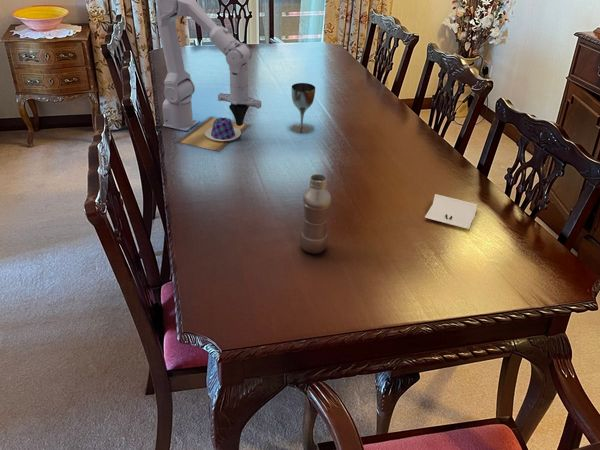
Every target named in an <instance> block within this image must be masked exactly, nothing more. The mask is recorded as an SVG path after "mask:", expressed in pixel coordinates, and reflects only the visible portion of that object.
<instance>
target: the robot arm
mask: <svg viewBox="0 0 600 450" xmlns="http://www.w3.org/2000/svg"><path fill="white" fill-rule="evenodd" d="M155 2H156V6H157V8H156V14H155V19H156V24H157V27H158V33H159V38H160V42H161V47H162V52H163V57H164V61H165V62H164V63H165V66H166V70H167V71H166V72H167V74H166V77H165V79H164V81H163V84H164V88H163V94H164V97H165V99H164V100H163V103H162V106H161V107H162V109H161V110H162V118H163V119H162V120H163V124H162V126H163V127H166V128H170V129H174V130H179V131H184V132H187V131H189V130H190V129H192V128H193V127H194V126H196V125H197V124H198V123H199V121H197V120H194V119H193V105H192V99H193V94H194V93H195V92H196V91H195V90H196V88H195V84H194V82H193V80H192V78H191V74H190V73H189V72H188V71H186V70H185V65H184V60H183V55H182V50H181V49H182V48H181V45H180V39H179V34H178V29H177V24H176V21H177V19H178V18H179V17H189V18H191V20H193V22H195V23H196V24H197V25H198V26H199V27H201V28H202V29H203V30H204V31H205V32H206V33H207V34H209V40H210V41H211V43H212V44H213V45H214V46H215V47H216V48H217V49H218V50H219V51H220V52H221V53H222V54H223V55H224V56H225V61H226V63H227V65H228V69H229V87H230V88H229V91H230V93H223V92H220V93H218V94H217V101H219V102H222V101H223V102H228V103H230V104H229V106H228V108H229V110H230V111H231V113H232V116H233V118H234V120H235V121H234V122H235V123H236V124H237V126H241V125H243V124H244V120H245V117H246V114H247V111H248V109H249V108H250V107H252V108H255V109H258V110H259V109H261V108H262V100H259V99H255V98H253V97H251V96H249V62H250V61H251V59H252V55H253V54H252V50H251V48H250V47H249V46H248V44H246V43H243V42H240V41H239V40H237V39H236V38H235V37H234V36H233V35H232V34H231V32H230V29H228V28H227V27H224V26H223V25H220V26H219V25H217V24H216V23H215V22H214V20H213V19H212V18H211V17H210V16H209V15H208V13H206V11H205V10H204V9H203V7H201V5H200V4H199V3H198V2H197V0H155Z"/></svg>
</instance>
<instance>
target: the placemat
mask: <svg viewBox="0 0 600 450" xmlns="http://www.w3.org/2000/svg"><path fill="white" fill-rule="evenodd" d="M215 119H217V117H209V118H208V119H206V120H205V121H204V122H201V124H199V125H198V126H197V127H195V128H194V129H193V130H191V131H190V132H189V133H187V134H186V135H185V136H183V137H182V138H180V139H179V140H178V141H177V143H180V144H185V145H189V146H193V147H197V148H202V149H207V150H211V151H215V152H220V151H221V150H222V149H223V148H225V146H227V145H228V144H229V143H230V142H232V140H229V141H216V140H212V139H210V138H208V137H207V136H206V135H205V132H206V130H208V129H209V128H212V127H213V123H214V121H215ZM231 122H232V125H233V127H235V128H237V129H239V130H240V131H241V133H242V132H243V131H244V130H245V129H246V128H248V127H249V124H244V123H243V125H241V126H237V124H236V121H231Z"/></svg>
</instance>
